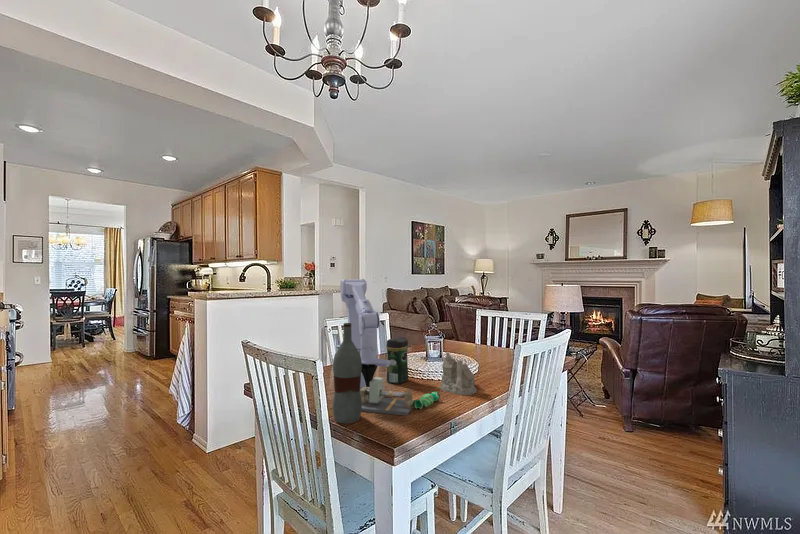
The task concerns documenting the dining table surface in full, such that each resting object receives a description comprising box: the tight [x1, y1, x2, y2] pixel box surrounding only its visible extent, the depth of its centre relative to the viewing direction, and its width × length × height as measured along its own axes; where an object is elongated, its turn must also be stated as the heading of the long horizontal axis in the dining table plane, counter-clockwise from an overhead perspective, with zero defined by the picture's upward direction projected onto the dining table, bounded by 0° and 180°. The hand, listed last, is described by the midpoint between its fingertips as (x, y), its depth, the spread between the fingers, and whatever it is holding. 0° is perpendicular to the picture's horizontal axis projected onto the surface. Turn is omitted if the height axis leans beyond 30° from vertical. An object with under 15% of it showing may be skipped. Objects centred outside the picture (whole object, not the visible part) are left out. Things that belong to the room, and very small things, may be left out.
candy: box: [412, 391, 441, 410], centre depth 133 cm, size 12×3×4 cm
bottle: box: [332, 322, 362, 424], centre depth 120 cm, size 9×9×30 cm
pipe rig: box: [360, 387, 415, 416], centre depth 130 cm, size 18×12×6 cm, turn 76°
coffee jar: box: [385, 336, 409, 384], centre depth 161 cm, size 10×8×19 cm
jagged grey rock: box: [439, 351, 478, 396], centre depth 152 cm, size 16×16×15 cm
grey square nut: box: [369, 376, 384, 403], centre depth 131 cm, size 3×6×7 cm, turn 166°
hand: (368, 386), depth 132 cm, fingers closed
